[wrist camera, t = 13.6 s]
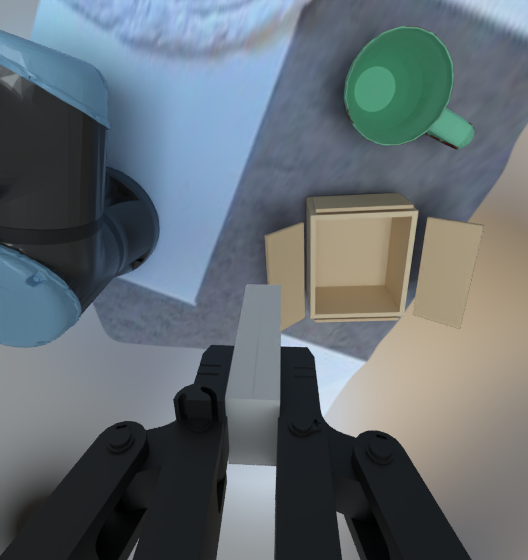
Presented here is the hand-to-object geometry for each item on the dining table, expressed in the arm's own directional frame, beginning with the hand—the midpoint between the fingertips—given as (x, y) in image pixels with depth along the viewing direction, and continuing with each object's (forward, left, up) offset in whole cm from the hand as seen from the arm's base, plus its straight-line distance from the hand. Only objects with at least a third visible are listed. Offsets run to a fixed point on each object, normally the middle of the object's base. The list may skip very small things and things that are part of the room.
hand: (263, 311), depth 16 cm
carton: (+10, -11, -35) cm, 38 cm away
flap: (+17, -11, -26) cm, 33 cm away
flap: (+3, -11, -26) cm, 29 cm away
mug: (+14, +7, -35) cm, 38 cm away
